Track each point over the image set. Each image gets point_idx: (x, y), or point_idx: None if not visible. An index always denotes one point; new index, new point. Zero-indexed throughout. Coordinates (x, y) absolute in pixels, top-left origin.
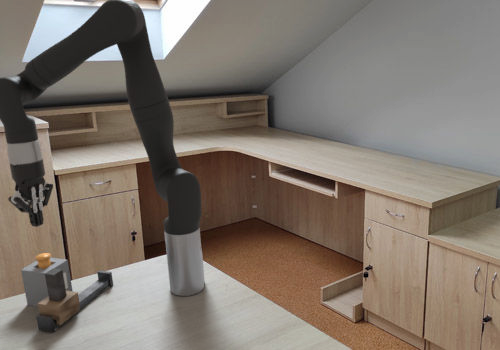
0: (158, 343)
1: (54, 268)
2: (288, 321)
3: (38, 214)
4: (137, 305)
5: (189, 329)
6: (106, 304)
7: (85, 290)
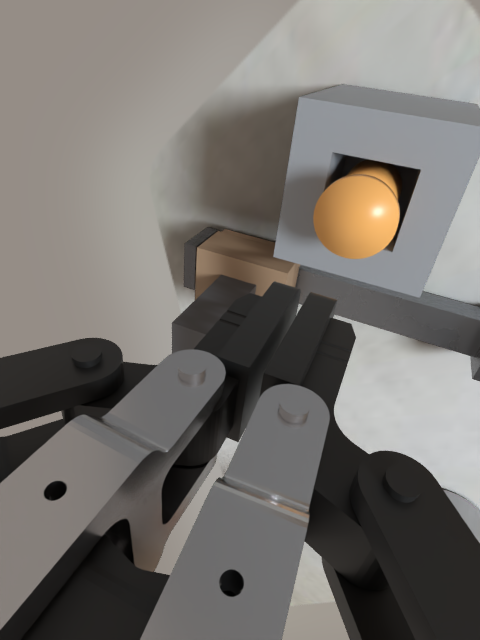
0: (221, 454)
1: (326, 270)
2: (303, 596)
3: (245, 421)
4: (347, 421)
5: None
6: (352, 353)
7: (391, 301)
